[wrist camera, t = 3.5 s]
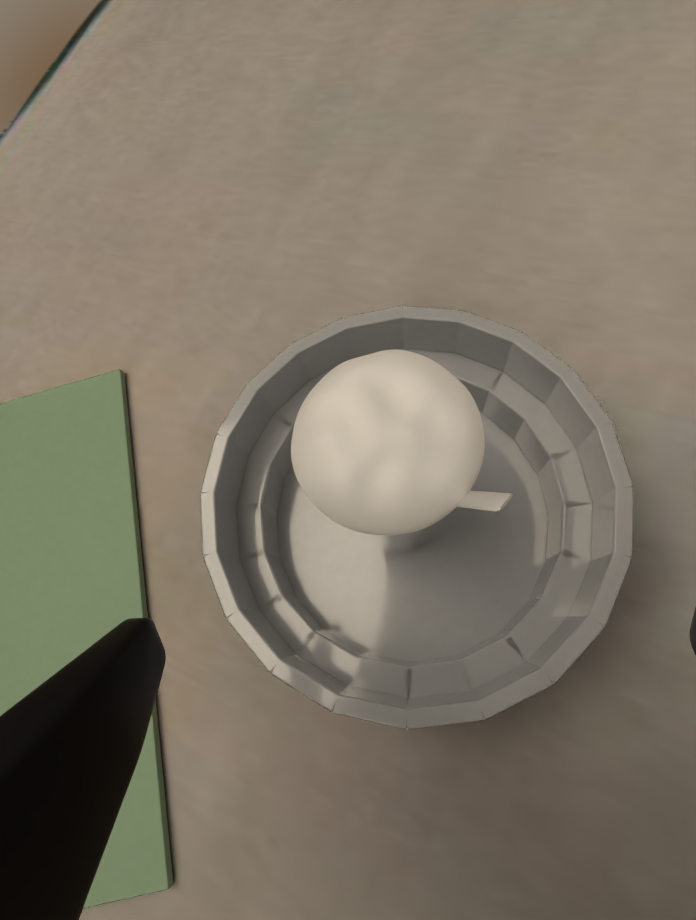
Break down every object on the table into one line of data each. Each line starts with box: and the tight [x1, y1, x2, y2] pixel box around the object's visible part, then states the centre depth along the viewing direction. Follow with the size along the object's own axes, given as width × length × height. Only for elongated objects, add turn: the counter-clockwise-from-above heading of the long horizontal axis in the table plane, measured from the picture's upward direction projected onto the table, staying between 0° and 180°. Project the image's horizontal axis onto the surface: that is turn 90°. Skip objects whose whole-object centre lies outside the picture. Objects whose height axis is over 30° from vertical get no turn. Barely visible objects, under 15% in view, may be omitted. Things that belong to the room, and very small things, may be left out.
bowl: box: [200, 306, 633, 730], centre depth 18 cm, size 13×13×4 cm
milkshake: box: [291, 349, 513, 552], centre depth 15 cm, size 4×5×10 cm
